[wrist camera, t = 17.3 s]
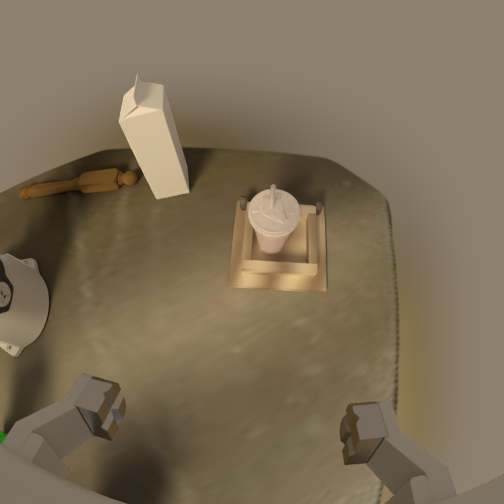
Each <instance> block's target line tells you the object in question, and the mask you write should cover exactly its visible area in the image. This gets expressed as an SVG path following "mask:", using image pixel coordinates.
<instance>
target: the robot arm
mask: <svg viewBox="0 0 504 504" xmlns="http://www.w3.org/2000/svg"><path fill="white" fill-rule="evenodd" d="M48 309H49V295H48V290H47V286H46V284H45V281H44V280H43V278H42V277H41V275H40V273H39V270H38V264H37V261H36V260H35V259H33V258H28V259H23V260H19V259H17V258H15V257H14V256H12V255H10V254H8V253H6V254H5V255H0V347H2V348H3V349H4V350H5V351H7V352H8V353H9V354H10V355H12V356H14V357H18V356H19V355H20V353H21V352H22V350H23V349H24V347H26V346H27V345H29V344H30V343H32V342H33V341H34V340H35V339H36V338H37V337H38V336H39V335H40V333H41V331H42V330H43V328H44V325H45V323H46V319H47V315H48ZM120 390H121V388H120V386H119V383H116V382H112V381H109V380H105V379H101V378H98V377H95V376H91V375H88V374H84V373H83V374H81V375H80V376H79V377H78V378H77V380H76V381H75V383H74V384H73V386H72V387H71V389H70V390H69V392H68V394H67V395H66V397H65V398H64V400H63V401H58V402H56V403H54V404H52V405H50V406H48V407H45V408H43V409H41V410H39V411H37V412H35V413H33V414H31V415H29V416H27V417H25V418H23V419H21V420H19V421H17V422H16V423H15V424H14V426H13V427H12V429H11V430H10V432H9V433H8V435H7V436H6V438H5V439H4V441H3V443H2V444H1V443H0V504H127V503H123V502H120V501H117V500H114V499H112V498H109V497H106V496H103V495H100V494H98V493H95V492H93V491H90V490H88V489H85V488H83V487H80V486H78V485H76V484H73V483H71V482H69V481H67V480H66V478H67V476H68V473H69V469H68V467H67V466H66V465H65V464H64V463H63V461H62V459H63V458H65V457H66V456H67V455H69V454H70V453H72V452H73V451H74V450H76V449H77V448H78V447H80V446H81V445H83V444H84V443H85V442H87V441H88V440H89V439H91V438H92V437H93V435H94V436H97V437H101V438H104V439H107V440H111V441H113V439H114V437H115V434H116V432H117V430H118V425H117V422H119V421H120V420H122V419H123V416H124V414H125V409H126V403H125V399H124V397H123V396H122V395H121V394H120V393H119V392H120ZM346 413H347V415H345V416H344V417H343V418H342V421H341V424H340V439H341V441H342V442H343V443H344V444H345V446H344V448H343V450H342V452H343V458H344V465H353V464H364V463H367V465H368V467H369V468H370V469H371V470H372V471H373V472H374V473H375V475H376V476H377V477H378V478H379V479H380V480H381V481H382V482H383V483H384V485H385V486H386V487H387V488H388V489H389V490H390V491H391V492H392V493H393V494H394V496H392V497H391V498H390V500H388V501H387V502H386V503H385V504H504V474H503V475H501V476H499V477H497V478H495V479H493V480H491V481H489V482H487V483H485V484H482V485H480V486H478V487H476V488H473V489H471V490H468V491H466V492H464V493H461V494H459V495H456V491H455V488H454V485H453V482H452V479H451V476H450V473H449V470H448V468H447V467H446V466H445V465H444V464H442V463H441V462H440V461H439V460H437V459H436V458H435V457H434V456H432V455H431V454H430V453H428V452H427V451H426V450H425V449H423V448H422V447H421V446H420V445H418V444H417V443H416V442H415V441H413V440H412V439H411V438H410V437H408V436H407V435H402V433H401V429H400V426H399V423H398V420H397V417H396V415H395V412H394V409H393V406H392V403H391V402H390V401H379V402H364V403H350V404H349V405H348V406H347V409H346Z"/></svg>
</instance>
